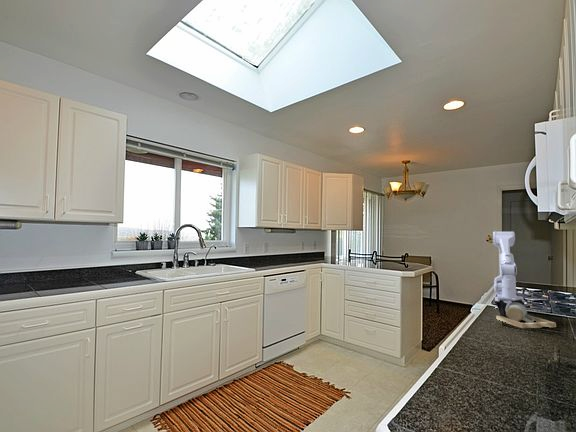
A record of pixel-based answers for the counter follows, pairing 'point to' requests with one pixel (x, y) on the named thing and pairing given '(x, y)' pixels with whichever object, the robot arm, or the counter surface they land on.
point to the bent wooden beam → (540, 323)
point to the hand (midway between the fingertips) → (509, 315)
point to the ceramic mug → (518, 312)
